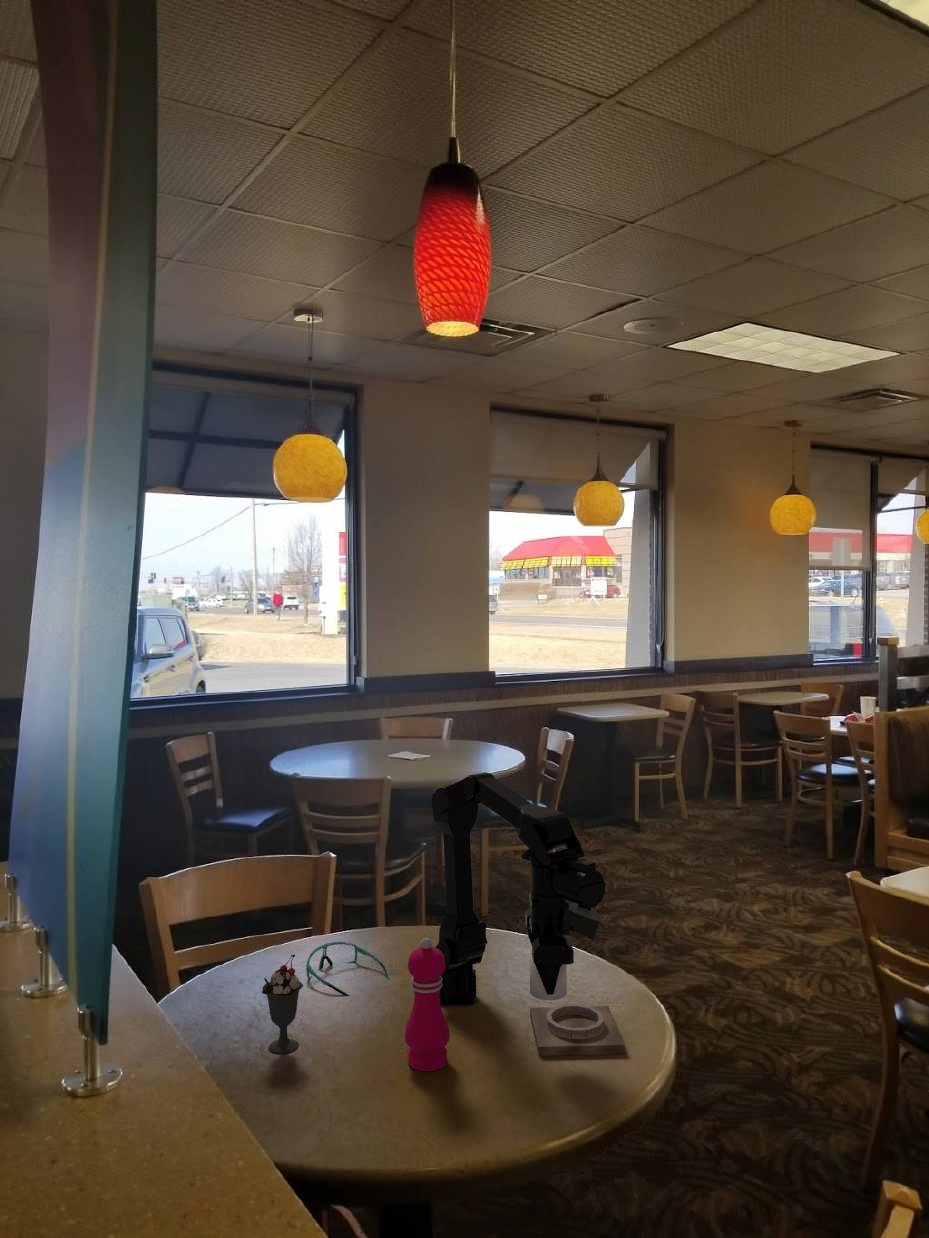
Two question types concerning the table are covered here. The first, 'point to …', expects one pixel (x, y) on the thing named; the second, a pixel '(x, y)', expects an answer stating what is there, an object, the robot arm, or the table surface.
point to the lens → (538, 988)
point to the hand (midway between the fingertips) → (548, 985)
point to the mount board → (575, 1030)
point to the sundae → (283, 1005)
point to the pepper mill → (426, 1010)
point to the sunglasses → (310, 970)
